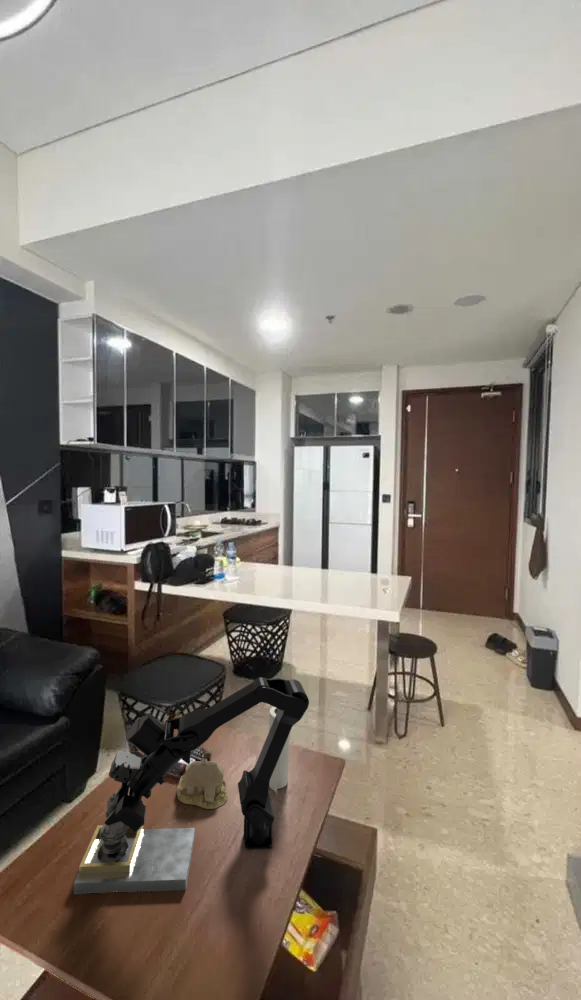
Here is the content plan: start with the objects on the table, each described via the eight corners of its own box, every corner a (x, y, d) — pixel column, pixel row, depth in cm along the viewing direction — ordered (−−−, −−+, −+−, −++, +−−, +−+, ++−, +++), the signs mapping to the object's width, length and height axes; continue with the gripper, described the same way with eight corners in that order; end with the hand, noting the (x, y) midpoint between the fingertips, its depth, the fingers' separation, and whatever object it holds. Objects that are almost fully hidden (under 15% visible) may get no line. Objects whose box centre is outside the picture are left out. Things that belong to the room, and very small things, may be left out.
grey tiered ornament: (109, 860, 93) (109, 807, 92) (94, 846, 96) (94, 795, 95) (133, 841, 98) (133, 791, 97) (118, 828, 101) (118, 779, 100)
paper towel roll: (275, 771, 128) (278, 702, 126) (292, 780, 124) (294, 709, 122) (260, 785, 122) (262, 713, 120) (276, 795, 118) (279, 721, 117)
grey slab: (194, 837, 104) (195, 822, 104) (185, 890, 91) (186, 872, 91) (97, 840, 102) (97, 824, 102) (73, 894, 89) (73, 876, 89)
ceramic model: (230, 779, 124) (231, 746, 123) (225, 811, 113) (226, 774, 112) (181, 778, 123) (182, 745, 123) (171, 809, 112) (172, 773, 111)
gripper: (137, 718, 105) (89, 767, 103) (126, 772, 87) (68, 832, 85) (170, 745, 107) (124, 793, 106) (166, 802, 89) (110, 861, 88)
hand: (107, 816), depth 96 cm, fingers closed on grey tiered ornament, 4 cm apart
